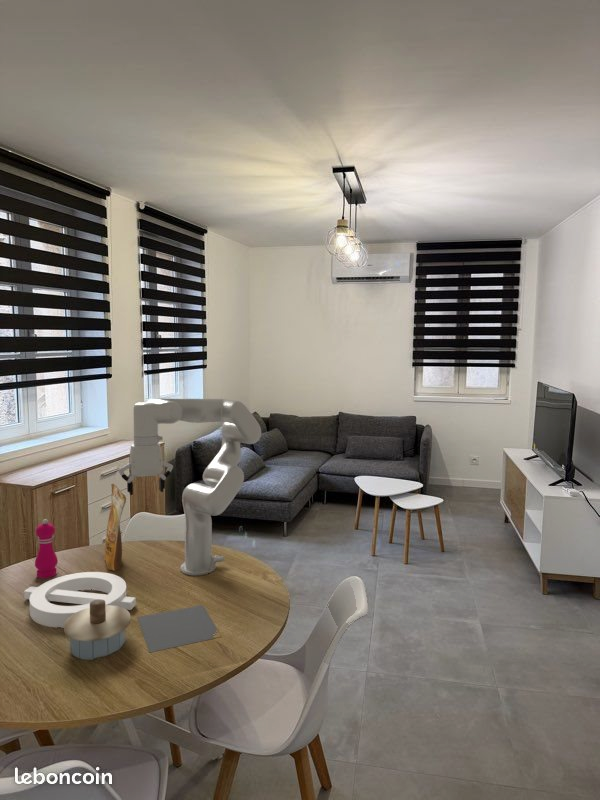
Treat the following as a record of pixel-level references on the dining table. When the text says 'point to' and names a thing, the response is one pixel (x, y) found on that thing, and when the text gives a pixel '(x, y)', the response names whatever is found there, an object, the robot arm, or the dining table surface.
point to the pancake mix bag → (114, 530)
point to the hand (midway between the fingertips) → (146, 492)
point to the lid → (97, 622)
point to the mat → (177, 628)
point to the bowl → (97, 646)
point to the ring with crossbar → (75, 596)
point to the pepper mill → (45, 551)
